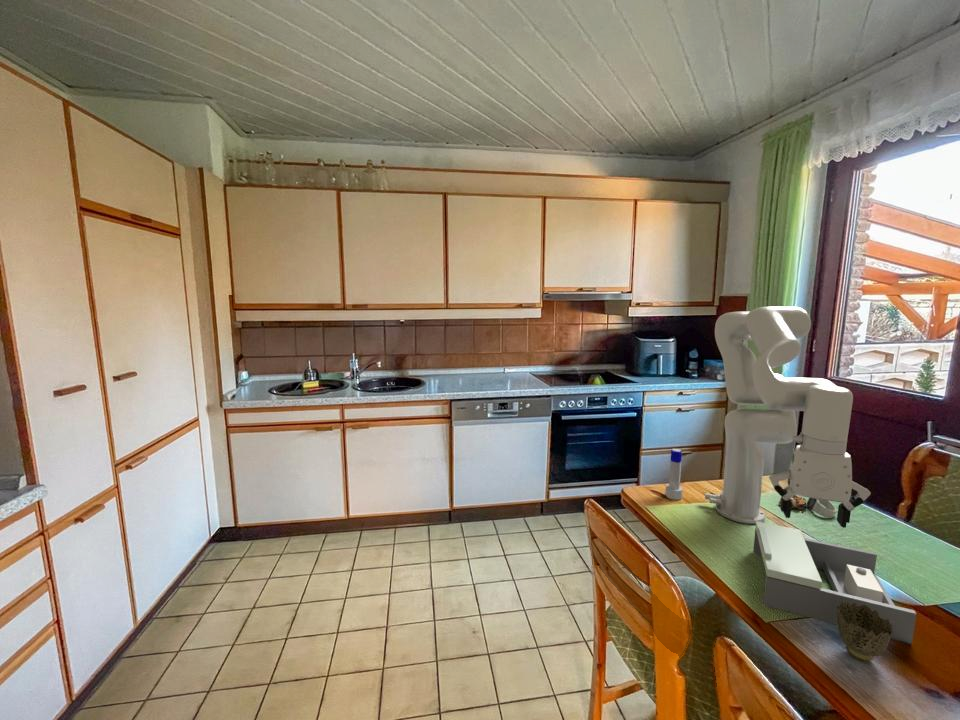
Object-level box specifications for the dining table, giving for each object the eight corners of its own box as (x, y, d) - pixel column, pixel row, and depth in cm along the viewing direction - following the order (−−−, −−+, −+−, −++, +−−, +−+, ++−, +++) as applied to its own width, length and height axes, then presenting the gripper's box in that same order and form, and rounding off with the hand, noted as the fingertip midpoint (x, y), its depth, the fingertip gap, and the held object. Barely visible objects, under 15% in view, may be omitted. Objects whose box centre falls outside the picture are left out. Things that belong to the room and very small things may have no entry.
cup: (821, 640, 80) (826, 602, 79) (857, 637, 81) (863, 599, 80) (859, 675, 73) (865, 633, 72) (899, 672, 74) (905, 630, 72)
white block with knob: (854, 608, 88) (857, 583, 87) (843, 584, 95) (846, 562, 94) (880, 614, 86) (883, 589, 85) (867, 590, 93) (870, 567, 92)
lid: (766, 576, 89) (768, 564, 88) (755, 527, 107) (756, 517, 107) (821, 589, 85) (822, 577, 84) (799, 536, 103) (800, 526, 103)
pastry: (807, 500, 136) (808, 489, 135) (806, 515, 126) (807, 504, 126) (780, 493, 140) (781, 483, 139) (778, 508, 130) (779, 497, 130)
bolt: (683, 501, 135) (666, 499, 136) (680, 494, 139) (664, 492, 141) (686, 453, 132) (669, 452, 134) (683, 448, 137) (666, 446, 138)
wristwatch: (802, 502, 133) (804, 487, 132) (826, 505, 131) (828, 490, 131) (815, 517, 125) (817, 501, 124) (841, 520, 123) (843, 504, 122)
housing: (763, 604, 90) (766, 577, 89) (753, 551, 108) (755, 528, 107) (911, 644, 79) (916, 613, 78) (871, 577, 98) (875, 552, 97)
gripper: (777, 444, 90) (769, 519, 93) (884, 456, 83) (871, 537, 86) (770, 433, 97) (762, 504, 100) (868, 444, 90) (857, 519, 93)
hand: (813, 519), depth 93 cm, fingers open, 9 cm apart
